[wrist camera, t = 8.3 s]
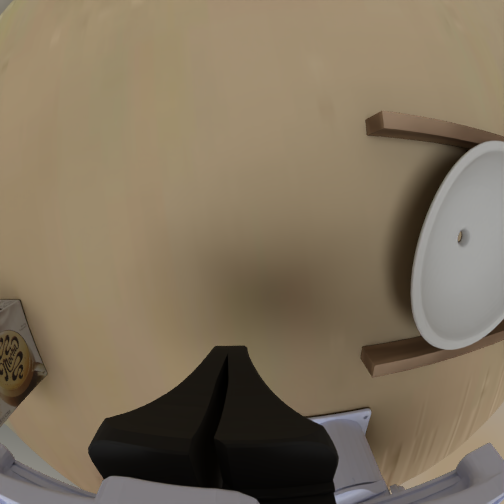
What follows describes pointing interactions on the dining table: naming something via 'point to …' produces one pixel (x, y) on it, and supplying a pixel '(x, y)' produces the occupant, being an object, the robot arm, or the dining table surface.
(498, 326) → the caddy
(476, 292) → the dish
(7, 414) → the coffee box
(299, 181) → the dining table surface
